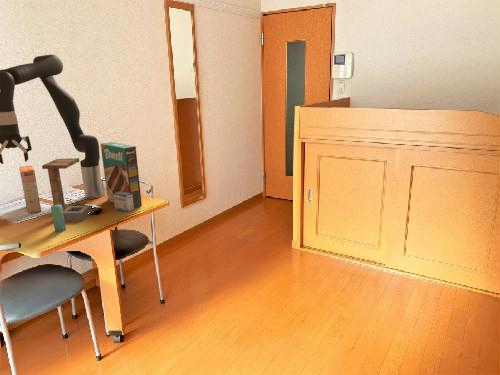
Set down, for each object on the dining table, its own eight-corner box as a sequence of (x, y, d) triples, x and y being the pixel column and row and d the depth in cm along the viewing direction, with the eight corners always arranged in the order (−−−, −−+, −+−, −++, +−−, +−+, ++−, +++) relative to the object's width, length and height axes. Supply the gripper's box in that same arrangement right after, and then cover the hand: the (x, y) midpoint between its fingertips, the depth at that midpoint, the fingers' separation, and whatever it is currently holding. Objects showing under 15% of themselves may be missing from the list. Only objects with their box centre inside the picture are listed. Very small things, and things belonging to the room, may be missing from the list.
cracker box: (42, 211, 190) (34, 169, 185) (28, 214, 187) (20, 171, 181) (39, 204, 202) (32, 164, 196) (26, 206, 199) (18, 166, 193)
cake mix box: (107, 200, 206) (100, 143, 197) (118, 197, 210) (111, 142, 202) (131, 208, 192) (124, 148, 184) (141, 205, 197) (135, 146, 188)
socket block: (70, 213, 186) (69, 206, 185) (91, 213, 186) (90, 205, 185) (60, 221, 177) (59, 213, 176) (82, 221, 177) (81, 212, 176)
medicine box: (114, 210, 190) (112, 193, 187) (120, 207, 194) (118, 190, 191) (128, 212, 187) (126, 194, 185) (134, 209, 191) (132, 192, 189)
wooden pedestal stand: (66, 212, 188) (57, 158, 181) (86, 212, 188) (79, 158, 181) (52, 223, 175) (41, 165, 167) (74, 222, 175) (65, 165, 167)
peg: (61, 227, 169) (57, 203, 166) (67, 229, 167) (63, 205, 164) (52, 231, 166) (48, 206, 163) (59, 233, 164) (54, 208, 161)
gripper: (27, 121, 164) (33, 159, 168) (-14, 123, 158) (-6, 162, 162) (26, 122, 158) (33, 162, 162) (-15, 125, 151) (-7, 166, 156)
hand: (14, 162), depth 162 cm, fingers open, 8 cm apart
